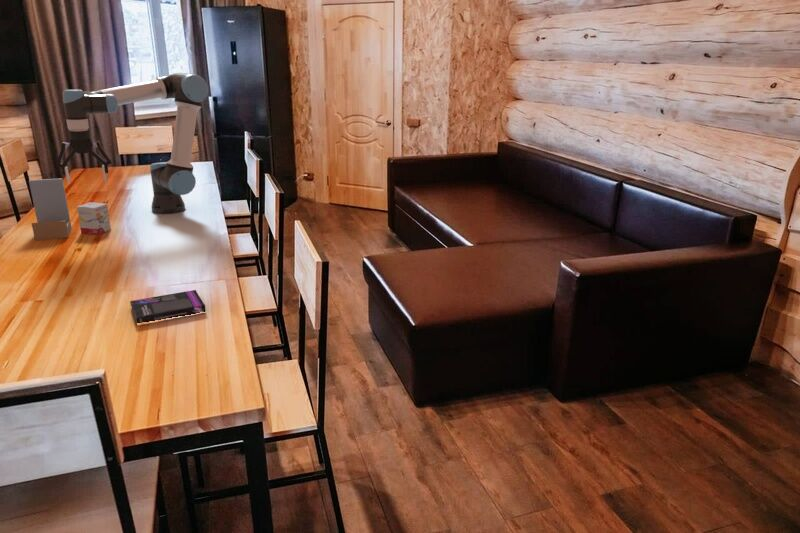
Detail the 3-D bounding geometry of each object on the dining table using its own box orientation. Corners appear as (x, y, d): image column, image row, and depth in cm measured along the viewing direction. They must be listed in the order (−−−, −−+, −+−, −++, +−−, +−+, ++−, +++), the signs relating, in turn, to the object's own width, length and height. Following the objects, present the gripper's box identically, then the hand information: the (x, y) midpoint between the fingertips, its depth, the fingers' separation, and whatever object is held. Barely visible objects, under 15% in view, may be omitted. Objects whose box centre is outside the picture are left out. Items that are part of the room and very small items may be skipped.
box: (197, 299, 186) (131, 309, 177) (196, 289, 185) (129, 299, 176) (206, 315, 175) (136, 327, 165) (205, 305, 173) (134, 316, 164)
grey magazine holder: (71, 228, 250) (62, 178, 242) (68, 237, 239) (58, 185, 231) (39, 231, 246) (29, 180, 238) (35, 240, 234) (23, 187, 227)
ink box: (98, 235, 243) (93, 207, 238) (80, 233, 244) (75, 206, 240) (112, 229, 250) (107, 202, 246) (94, 227, 252) (89, 201, 248)
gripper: (113, 127, 240) (120, 178, 247) (44, 129, 231) (54, 181, 238) (112, 130, 234) (120, 182, 241) (41, 131, 224) (51, 185, 232)
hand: (87, 182), depth 240 cm, fingers open, 13 cm apart
